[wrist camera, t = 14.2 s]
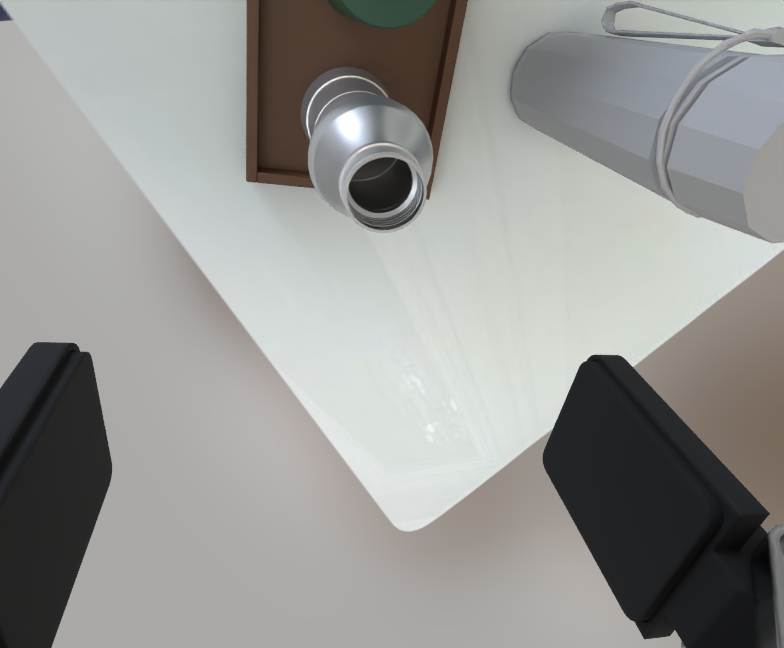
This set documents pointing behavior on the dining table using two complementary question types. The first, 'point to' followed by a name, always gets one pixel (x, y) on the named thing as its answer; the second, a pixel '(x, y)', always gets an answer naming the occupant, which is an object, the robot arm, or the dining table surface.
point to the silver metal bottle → (365, 150)
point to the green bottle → (384, 11)
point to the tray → (334, 50)
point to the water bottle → (668, 115)
